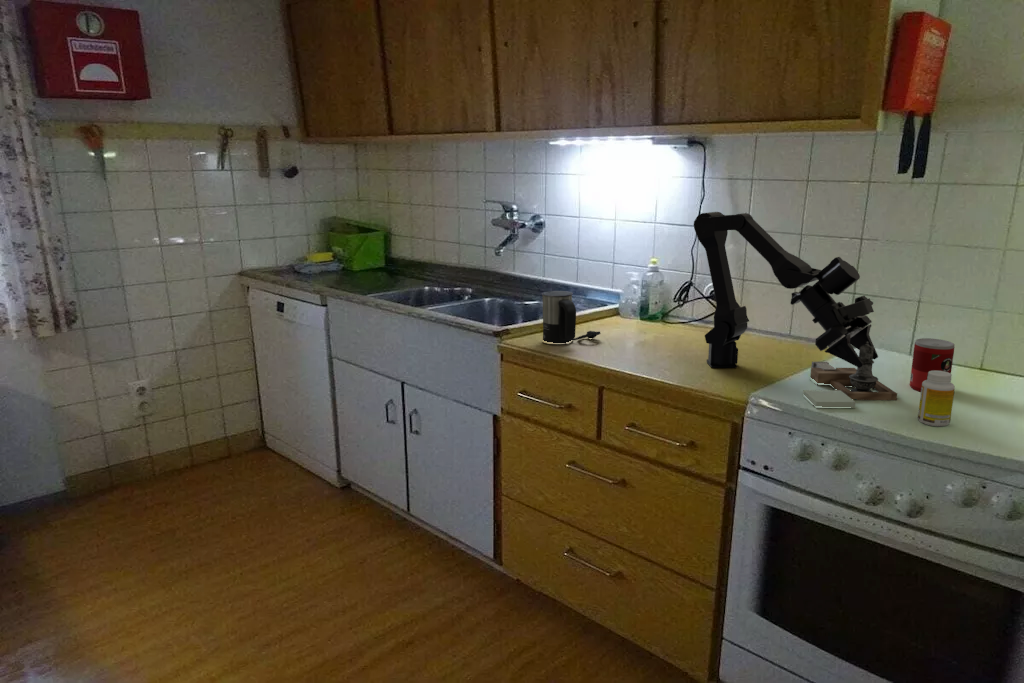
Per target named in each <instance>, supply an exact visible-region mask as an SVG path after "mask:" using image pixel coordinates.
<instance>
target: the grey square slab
mask: <svg viewBox="0 0 1024 683" xmlns="http://www.w3.org/2000/svg"><path fill="white" fill-rule="evenodd" d="M803 394H804V395H805V396H806V397H807V398H808V399H809V400H810V401H811V402H812V403H813V404H814V405H815V406H822V407H851V408H855V409H856V400H852V399H851V398H850V397H848V396H847V395H846V394H845V393H843V392H842V391H841V390H834V389H833V390H829V389H828V390H826V389H825V390H823V389H821V390H820V389H819V390H817V389H815V390H814V389H811V390H809V389H805V390H803V392H802V395H803Z"/></svg>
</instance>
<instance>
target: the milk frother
mask: <svg viewBox="0 0 1024 683" xmlns="http://www.w3.org/2000/svg"><path fill="white" fill-rule="evenodd" d="M541 295H542V340H544V341H547V342H553V343H566V342H569V341H571V340H573V341H578V340H582V339H584V338H587V339H588V338H594V339H595V338H596V337H597V336H598V335H601V334H602V333H601V331H594V330H589V331H586V334H582V335H580V336H577V337H576V327H577V326H576V325H577V307H576V305H575V303H574V302H573V295H574V292H572V291H567V290H550V291H543V292H541Z"/></svg>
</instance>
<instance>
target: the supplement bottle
mask: <svg viewBox="0 0 1024 683" xmlns="http://www.w3.org/2000/svg"><path fill="white" fill-rule="evenodd" d="M955 386H956V385H955V384H954V383H953V382H952V372H951V373H948V372H945V371H936V370H934V371H929V372H928V377H927V380H925V381H923V382H922V388H921V392H920V397H919V406H918V412H917V413H918V414H917V419H918V421H919V422H920V423H922V424H924V425H927V426H933V427H947V426H948V425H950V423H951V417H952V411H953V410H952V409H953V405H954V404H953V403H954V396H955V395H954V394H955V389H956V388H955Z"/></svg>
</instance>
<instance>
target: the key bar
mask: <svg viewBox="0 0 1024 683" xmlns="http://www.w3.org/2000/svg"><path fill="white" fill-rule="evenodd" d="M810 366H811V368H822V369H823V370H824V371H836V368H835V367H833V365H830V364H829V361H811V365H810ZM811 368H810V369H811Z"/></svg>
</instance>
